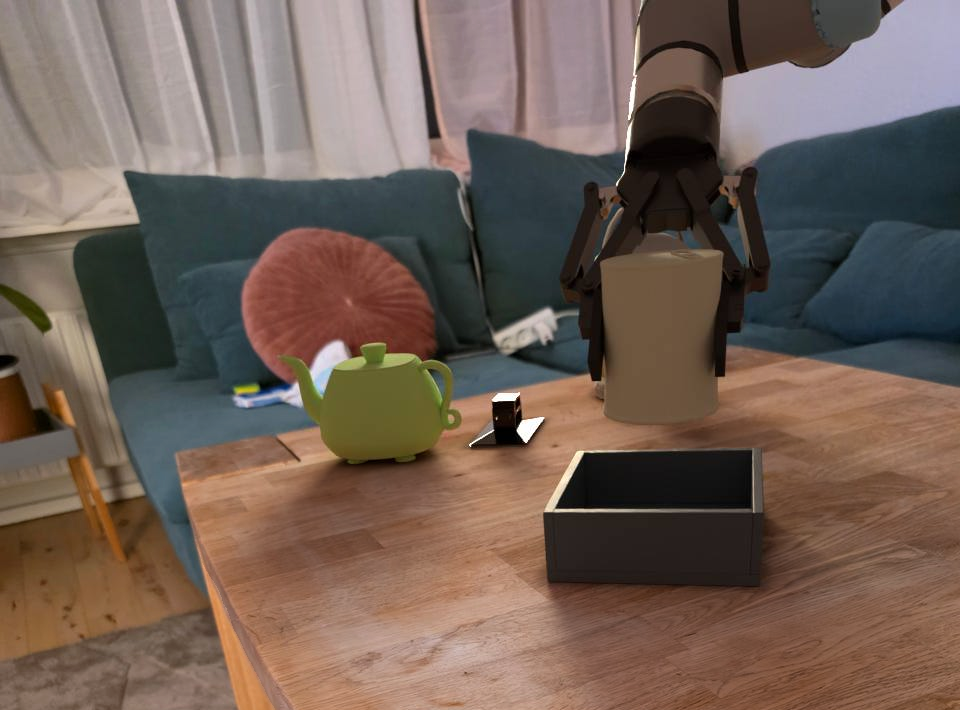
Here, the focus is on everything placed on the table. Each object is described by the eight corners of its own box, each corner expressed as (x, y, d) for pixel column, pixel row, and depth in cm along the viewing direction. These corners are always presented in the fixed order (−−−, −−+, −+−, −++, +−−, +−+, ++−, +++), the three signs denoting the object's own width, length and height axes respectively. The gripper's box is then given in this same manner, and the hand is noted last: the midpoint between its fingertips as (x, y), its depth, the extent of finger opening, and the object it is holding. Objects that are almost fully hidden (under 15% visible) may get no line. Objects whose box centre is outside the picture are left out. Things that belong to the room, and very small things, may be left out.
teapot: (275, 474, 108) (252, 363, 101) (317, 439, 120) (299, 339, 114) (451, 468, 103) (438, 351, 97) (476, 432, 116) (466, 327, 110)
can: (658, 432, 67) (658, 259, 61) (580, 413, 74) (574, 256, 68) (743, 406, 71) (751, 242, 65) (662, 390, 78) (663, 241, 72)
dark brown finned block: (525, 446, 108) (522, 408, 106) (468, 448, 110) (464, 410, 108) (544, 419, 119) (542, 383, 117) (491, 420, 121) (488, 386, 119)
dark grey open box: (758, 510, 82) (761, 447, 79) (760, 586, 68) (764, 512, 65) (579, 510, 87) (577, 450, 84) (547, 581, 73) (542, 512, 70)
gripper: (806, 152, 74) (801, 391, 68) (553, 177, 80) (527, 399, 74) (816, 73, 67) (810, 332, 61) (538, 107, 73) (508, 346, 67)
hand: (656, 369), depth 68 cm, fingers closed on can, 9 cm apart
